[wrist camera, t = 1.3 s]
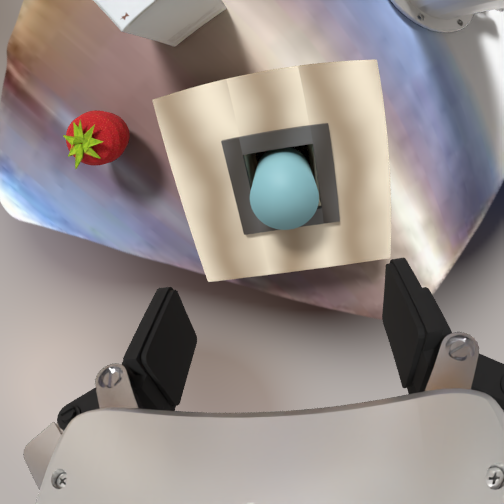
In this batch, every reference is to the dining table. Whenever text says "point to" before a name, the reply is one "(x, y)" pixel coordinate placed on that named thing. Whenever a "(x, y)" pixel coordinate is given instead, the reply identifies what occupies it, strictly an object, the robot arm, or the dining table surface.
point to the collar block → (275, 137)
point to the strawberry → (97, 138)
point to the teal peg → (284, 189)
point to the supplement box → (161, 17)
